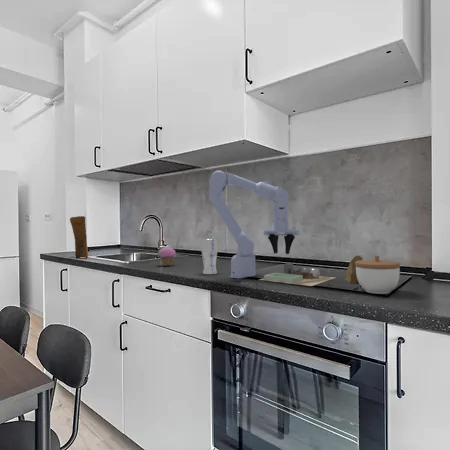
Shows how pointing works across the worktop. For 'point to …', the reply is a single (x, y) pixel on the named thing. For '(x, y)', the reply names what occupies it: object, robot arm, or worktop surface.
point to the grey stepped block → (290, 269)
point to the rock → (352, 271)
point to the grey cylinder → (310, 271)
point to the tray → (283, 277)
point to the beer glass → (209, 255)
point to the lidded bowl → (377, 275)
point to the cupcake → (167, 255)
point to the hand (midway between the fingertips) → (281, 253)
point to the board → (309, 281)
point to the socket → (305, 275)
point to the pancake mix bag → (79, 236)
